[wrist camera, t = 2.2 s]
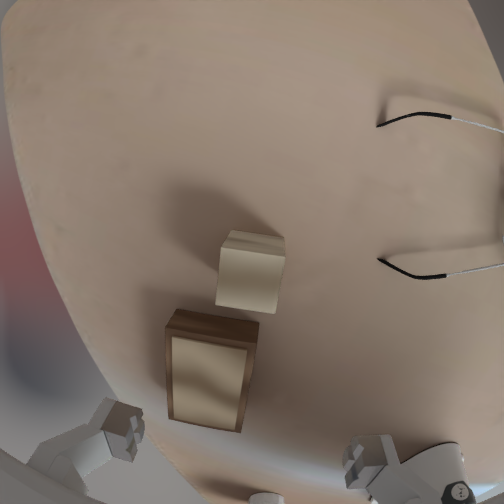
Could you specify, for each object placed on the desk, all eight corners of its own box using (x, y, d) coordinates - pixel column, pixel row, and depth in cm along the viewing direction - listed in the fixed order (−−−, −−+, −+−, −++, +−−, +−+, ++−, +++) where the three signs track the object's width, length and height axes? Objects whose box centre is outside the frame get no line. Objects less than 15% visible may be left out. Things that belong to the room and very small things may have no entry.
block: (275, 285, 31) (275, 314, 25) (226, 277, 31) (215, 304, 25) (283, 237, 29) (285, 256, 24) (231, 229, 29) (220, 247, 24)
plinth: (243, 410, 36) (240, 434, 32) (176, 398, 37) (167, 420, 33) (259, 322, 32) (256, 345, 28) (176, 308, 32) (164, 328, 28)
